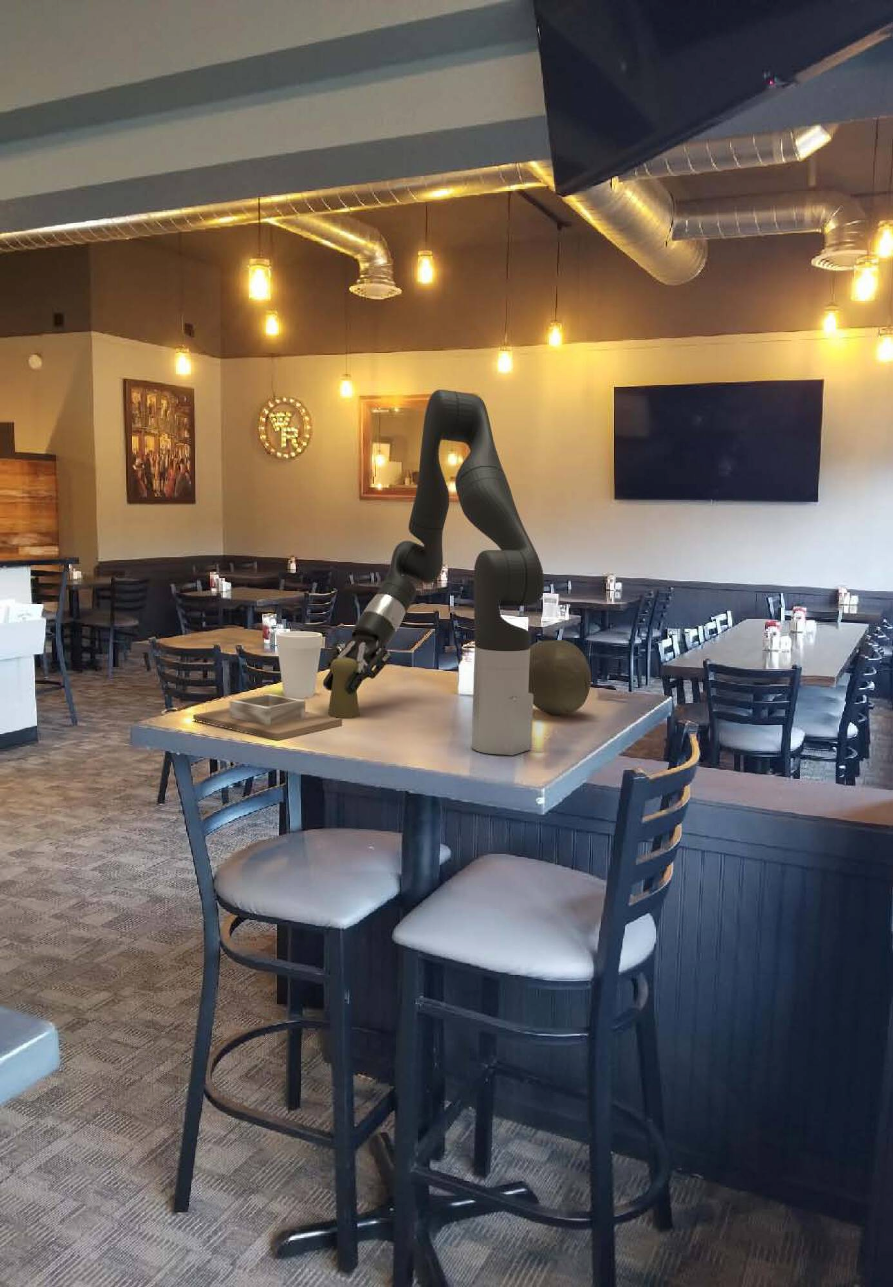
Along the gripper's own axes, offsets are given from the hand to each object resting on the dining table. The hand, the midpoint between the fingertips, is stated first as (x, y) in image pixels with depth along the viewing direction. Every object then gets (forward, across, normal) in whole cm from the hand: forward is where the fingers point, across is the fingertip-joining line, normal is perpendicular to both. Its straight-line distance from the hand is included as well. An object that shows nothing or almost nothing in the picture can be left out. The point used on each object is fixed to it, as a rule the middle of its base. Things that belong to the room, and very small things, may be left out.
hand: (337, 689), depth 183 cm
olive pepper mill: (+2, 0, +5) cm, 6 cm away
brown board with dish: (+13, -5, -6) cm, 15 cm away
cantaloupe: (-17, +30, +25) cm, 43 cm away
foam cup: (-3, -20, +11) cm, 23 cm away
